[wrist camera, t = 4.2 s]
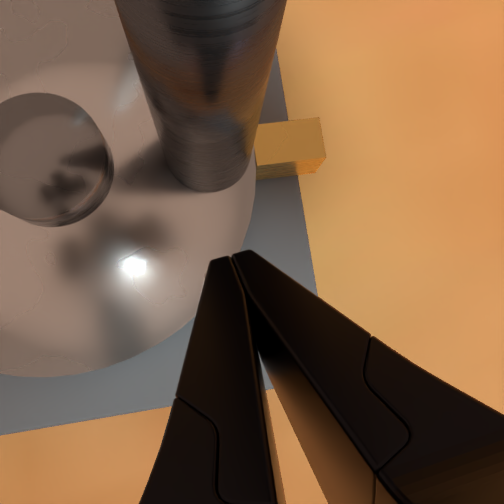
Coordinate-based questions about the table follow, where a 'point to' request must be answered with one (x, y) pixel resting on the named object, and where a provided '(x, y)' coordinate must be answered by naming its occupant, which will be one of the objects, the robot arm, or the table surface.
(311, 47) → the table surface
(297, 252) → the post base
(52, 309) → the grey round part
